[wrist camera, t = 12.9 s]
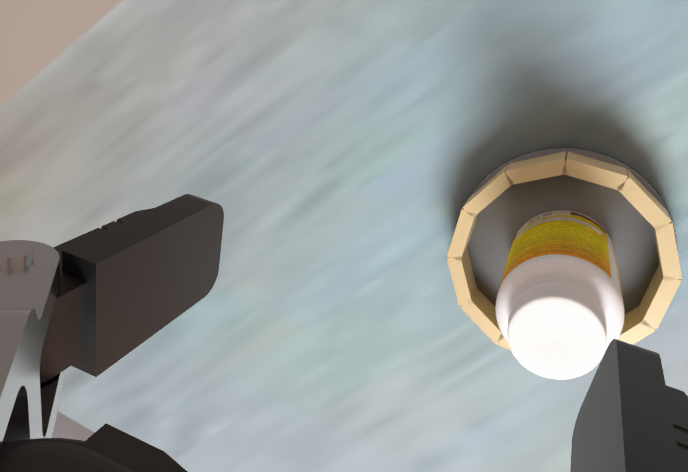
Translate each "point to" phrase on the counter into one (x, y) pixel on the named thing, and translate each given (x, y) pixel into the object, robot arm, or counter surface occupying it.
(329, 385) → the counter surface
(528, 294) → the supplement bottle
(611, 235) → the tan faceted ring
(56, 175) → the counter surface
